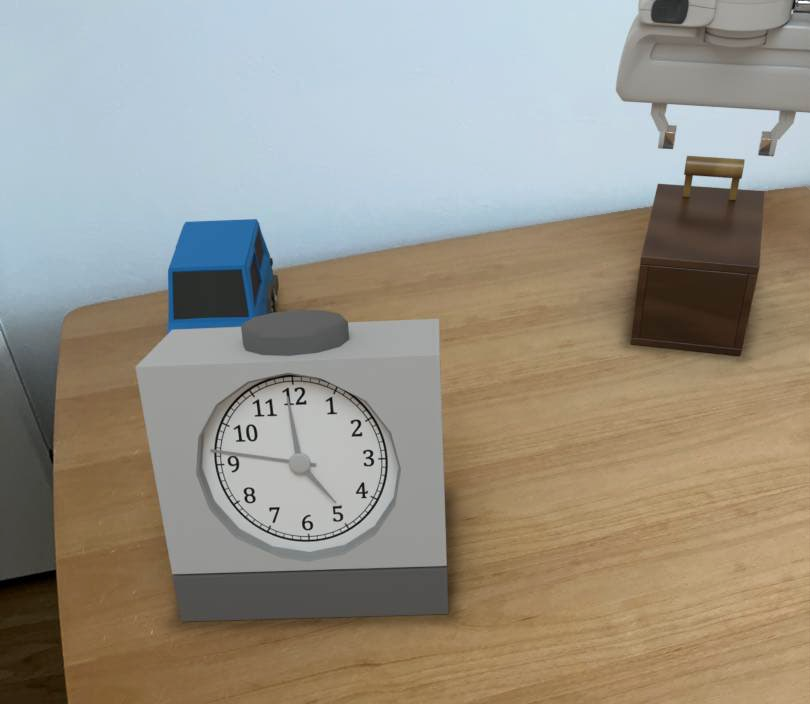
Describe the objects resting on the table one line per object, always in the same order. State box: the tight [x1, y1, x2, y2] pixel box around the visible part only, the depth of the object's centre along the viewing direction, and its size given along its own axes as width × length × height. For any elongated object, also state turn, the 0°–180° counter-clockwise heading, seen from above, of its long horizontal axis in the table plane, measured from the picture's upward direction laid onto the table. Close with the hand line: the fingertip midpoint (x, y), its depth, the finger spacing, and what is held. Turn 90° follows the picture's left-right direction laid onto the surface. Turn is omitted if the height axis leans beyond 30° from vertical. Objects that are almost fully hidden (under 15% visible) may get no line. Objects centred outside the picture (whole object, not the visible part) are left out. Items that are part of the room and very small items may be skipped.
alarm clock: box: [135, 309, 449, 623], centre depth 75 cm, size 20×16×20 cm
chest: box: [630, 263, 759, 357], centre depth 101 cm, size 15×11×9 cm
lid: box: [639, 155, 765, 275], centre depth 97 cm, size 15×11×5 cm
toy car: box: [166, 218, 280, 335], centre depth 100 cm, size 9×19×10 cm, turn 179°
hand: (715, 150), depth 98 cm, fingers open, 8 cm apart
